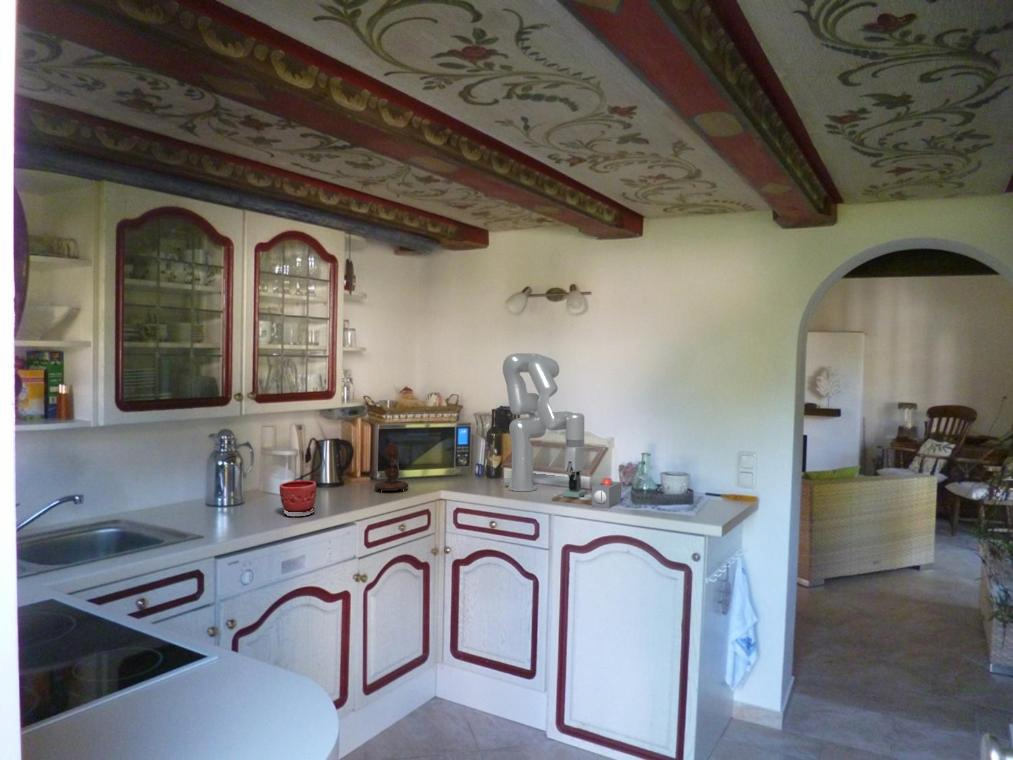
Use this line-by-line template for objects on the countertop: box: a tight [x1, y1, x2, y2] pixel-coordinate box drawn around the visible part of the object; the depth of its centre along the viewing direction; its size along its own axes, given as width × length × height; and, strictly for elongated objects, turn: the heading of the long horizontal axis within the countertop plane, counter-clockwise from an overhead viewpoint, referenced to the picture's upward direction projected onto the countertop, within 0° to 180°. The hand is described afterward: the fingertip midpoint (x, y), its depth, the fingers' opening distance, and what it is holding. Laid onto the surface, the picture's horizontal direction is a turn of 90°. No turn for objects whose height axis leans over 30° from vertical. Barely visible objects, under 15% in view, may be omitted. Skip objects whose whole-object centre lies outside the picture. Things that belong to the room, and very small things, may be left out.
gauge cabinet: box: [591, 481, 622, 509], centre depth 287 cm, size 7×15×8 cm, turn 152°
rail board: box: [551, 491, 592, 506], centre depth 293 cm, size 18×9×2 cm, turn 62°
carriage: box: [562, 473, 588, 497], centre depth 294 cm, size 7×8×8 cm
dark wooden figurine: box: [374, 443, 409, 491], centre depth 315 cm, size 15×15×20 cm
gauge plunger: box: [601, 477, 613, 486], centre depth 287 cm, size 4×4×5 cm
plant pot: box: [279, 479, 317, 513], centre depth 268 cm, size 13×13×12 cm
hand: (574, 488), depth 294 cm, fingers closed on carriage, 3 cm apart
